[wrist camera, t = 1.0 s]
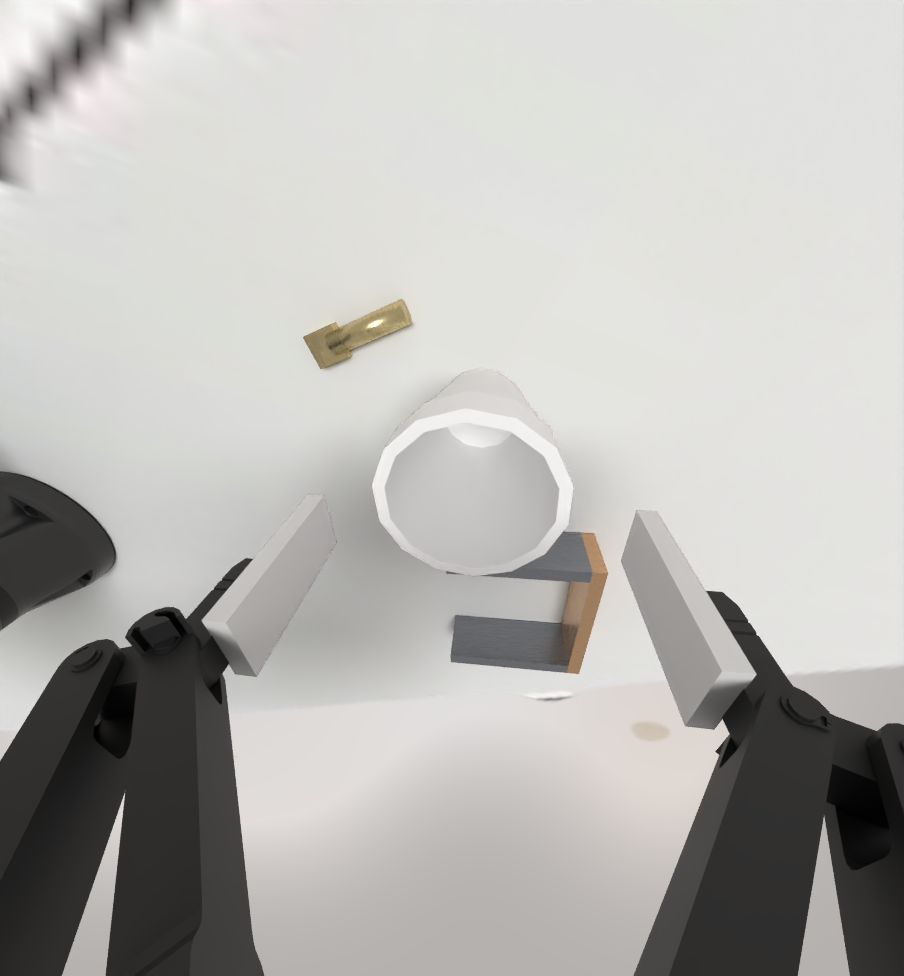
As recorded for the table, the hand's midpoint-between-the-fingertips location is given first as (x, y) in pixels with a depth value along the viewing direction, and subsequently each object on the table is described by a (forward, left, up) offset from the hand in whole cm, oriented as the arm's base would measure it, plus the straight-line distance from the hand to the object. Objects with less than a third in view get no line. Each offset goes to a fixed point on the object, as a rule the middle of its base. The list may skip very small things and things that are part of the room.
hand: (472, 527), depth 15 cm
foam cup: (0, 0, -15) cm, 15 cm away
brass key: (-8, +6, -15) cm, 18 cm away
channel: (+3, -19, -15) cm, 24 cm away
